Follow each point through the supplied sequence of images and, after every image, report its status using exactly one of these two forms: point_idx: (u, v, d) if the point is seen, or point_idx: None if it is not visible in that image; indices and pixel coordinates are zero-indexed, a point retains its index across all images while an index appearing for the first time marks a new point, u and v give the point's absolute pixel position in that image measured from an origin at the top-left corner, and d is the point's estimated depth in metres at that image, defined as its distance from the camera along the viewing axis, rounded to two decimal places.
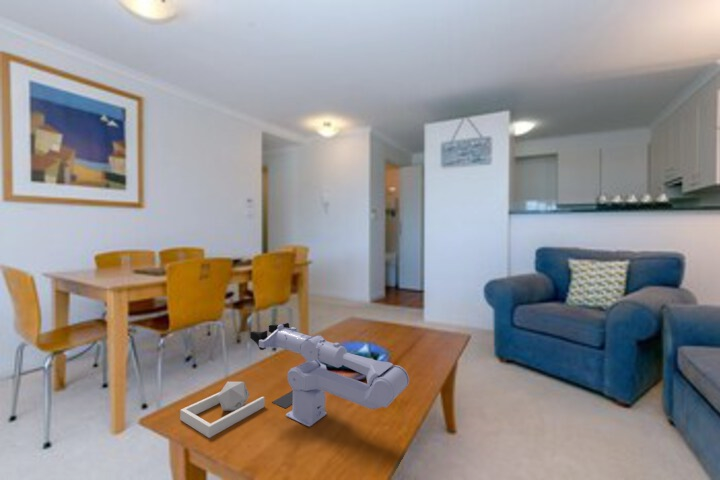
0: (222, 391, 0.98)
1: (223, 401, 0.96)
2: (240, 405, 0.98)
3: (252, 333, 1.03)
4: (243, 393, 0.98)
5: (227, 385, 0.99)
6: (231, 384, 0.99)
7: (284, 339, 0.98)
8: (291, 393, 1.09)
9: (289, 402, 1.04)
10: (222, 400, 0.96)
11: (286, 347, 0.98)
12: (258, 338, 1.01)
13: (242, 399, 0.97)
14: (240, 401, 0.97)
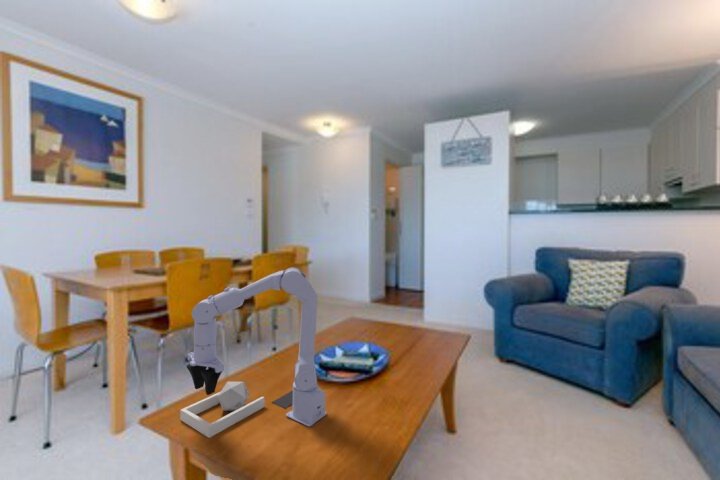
0: (222, 391, 0.98)
1: (223, 401, 0.96)
2: (240, 405, 0.98)
3: (208, 391, 0.89)
4: (243, 393, 0.98)
5: (227, 385, 0.99)
6: (231, 384, 0.99)
7: (206, 347, 0.89)
8: (291, 393, 1.09)
9: (289, 402, 1.04)
10: (222, 400, 0.96)
11: (207, 344, 0.89)
12: (212, 379, 0.90)
13: (242, 399, 0.97)
14: (240, 401, 0.97)
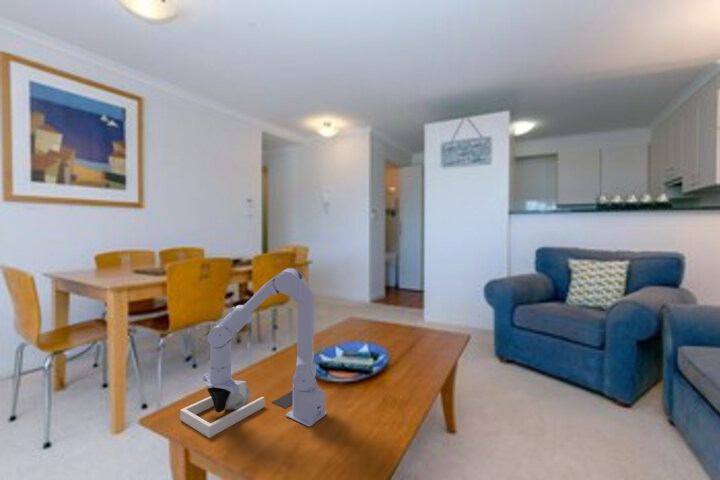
0: None
1: None
2: (241, 404, 0.98)
3: (219, 409, 0.95)
4: (244, 392, 0.99)
5: None
6: None
7: (222, 370, 0.93)
8: (291, 393, 1.09)
9: (289, 402, 1.04)
10: None
11: (221, 367, 0.93)
12: (222, 398, 0.96)
13: (242, 398, 0.98)
14: (240, 400, 0.98)
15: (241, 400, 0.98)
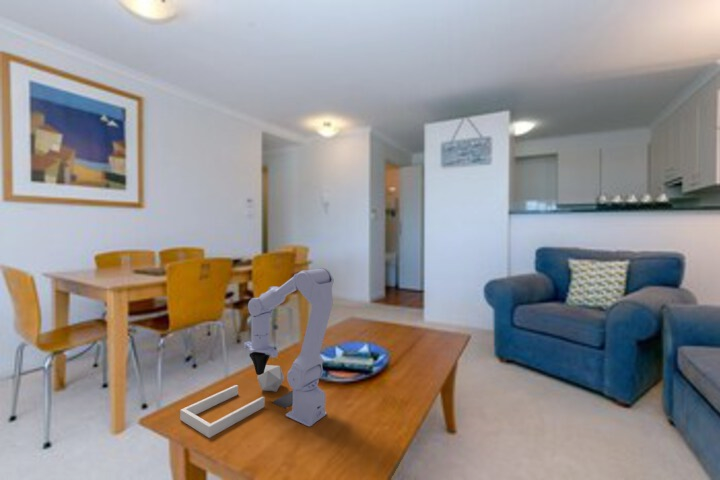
0: None
1: (261, 382, 1.09)
2: (276, 386, 1.10)
3: (259, 371, 1.07)
4: (279, 375, 1.10)
5: (265, 368, 1.12)
6: (269, 367, 1.12)
7: (263, 336, 1.05)
8: (291, 393, 1.09)
9: (289, 402, 1.04)
10: (261, 380, 1.09)
11: (257, 334, 1.05)
12: (262, 362, 1.08)
13: (278, 381, 1.10)
14: (276, 382, 1.09)
15: (277, 382, 1.09)
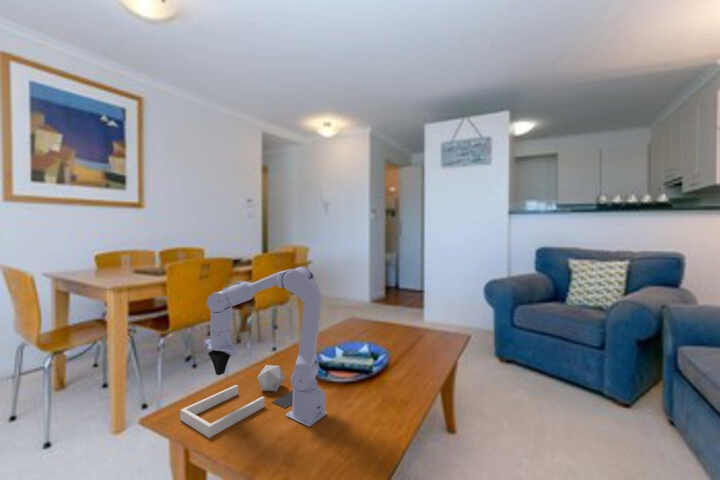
0: (261, 373, 1.11)
1: (261, 382, 1.09)
2: (276, 386, 1.10)
3: (219, 371, 0.99)
4: (279, 375, 1.10)
5: (265, 368, 1.12)
6: (269, 367, 1.12)
7: (222, 333, 0.97)
8: (291, 393, 1.09)
9: (289, 402, 1.04)
10: (261, 380, 1.09)
11: (220, 331, 0.97)
12: (222, 361, 1.00)
13: (278, 381, 1.10)
14: (276, 382, 1.09)
15: (277, 382, 1.09)
